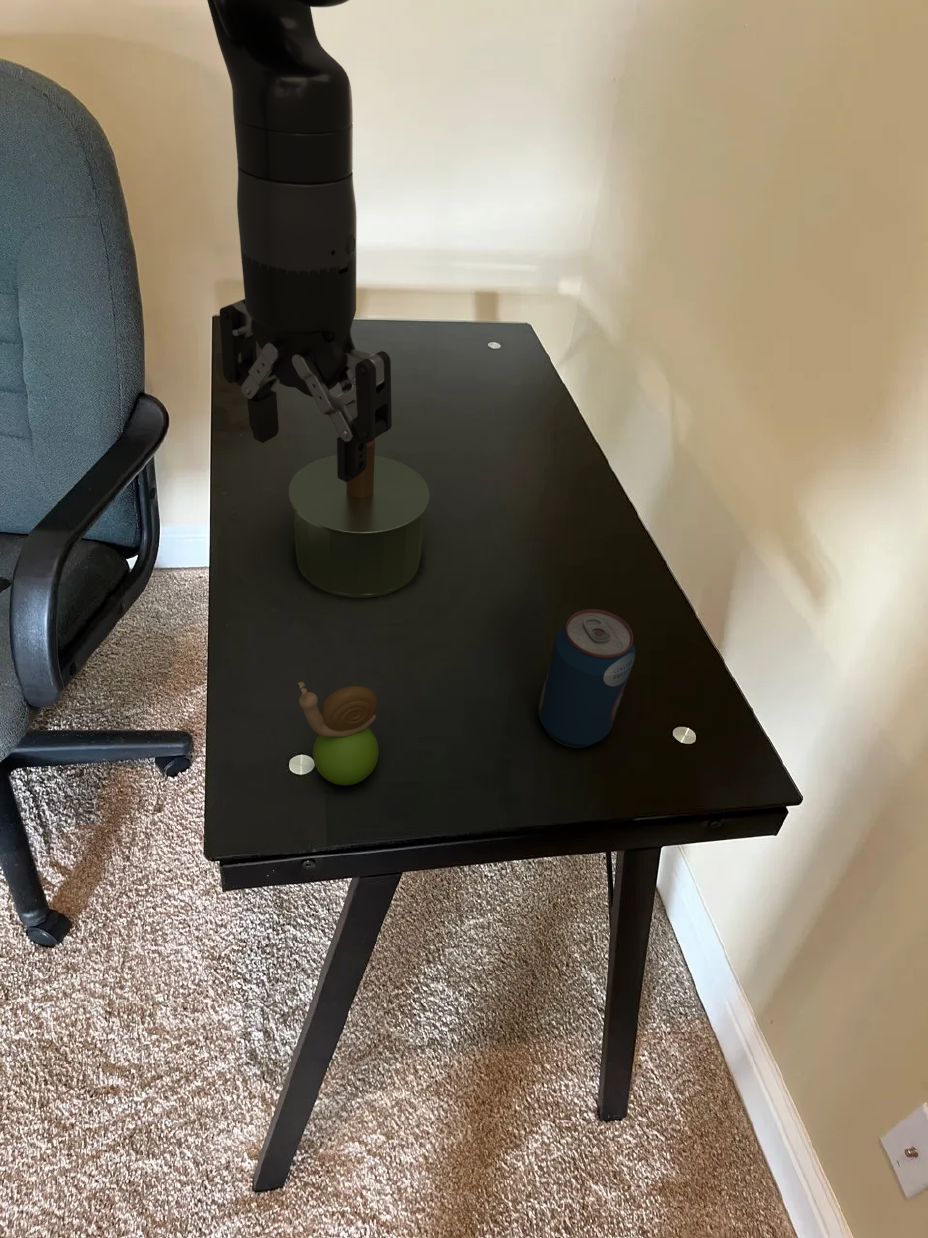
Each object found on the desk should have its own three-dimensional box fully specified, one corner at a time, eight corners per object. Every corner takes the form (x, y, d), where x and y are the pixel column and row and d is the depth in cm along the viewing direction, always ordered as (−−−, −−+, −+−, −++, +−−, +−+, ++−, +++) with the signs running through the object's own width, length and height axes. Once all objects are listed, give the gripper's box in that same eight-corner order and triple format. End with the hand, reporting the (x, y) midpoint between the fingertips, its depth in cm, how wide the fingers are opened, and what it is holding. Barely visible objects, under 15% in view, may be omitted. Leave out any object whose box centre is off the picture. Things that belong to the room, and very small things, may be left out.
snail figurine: (294, 759, 71) (288, 662, 63) (365, 740, 73) (368, 643, 65) (312, 809, 68) (309, 713, 59) (386, 787, 70) (392, 692, 62)
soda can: (621, 746, 76) (654, 654, 68) (551, 759, 74) (577, 666, 66) (591, 692, 81) (619, 599, 73) (525, 702, 79) (546, 609, 71)
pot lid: (296, 546, 80) (293, 484, 75) (283, 465, 90) (280, 406, 86) (442, 536, 84) (448, 476, 79) (413, 459, 94) (417, 402, 89)
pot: (303, 603, 86) (300, 537, 80) (291, 526, 95) (288, 462, 90) (430, 592, 89) (437, 529, 83) (406, 518, 99) (410, 457, 93)
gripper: (177, 228, 54) (206, 444, 65) (348, 289, 49) (349, 512, 60) (257, 204, 59) (272, 409, 70) (420, 258, 54) (408, 469, 65)
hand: (307, 456), depth 65 cm, fingers open, 8 cm apart
